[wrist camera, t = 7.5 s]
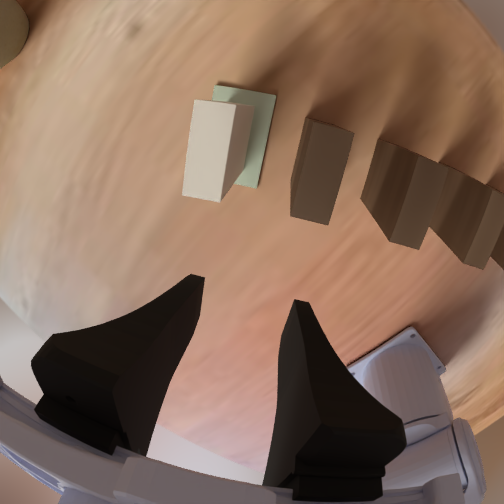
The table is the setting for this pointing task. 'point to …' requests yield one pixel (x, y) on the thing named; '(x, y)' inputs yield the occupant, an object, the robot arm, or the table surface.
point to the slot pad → (258, 128)
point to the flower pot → (12, 30)
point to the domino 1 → (216, 148)
